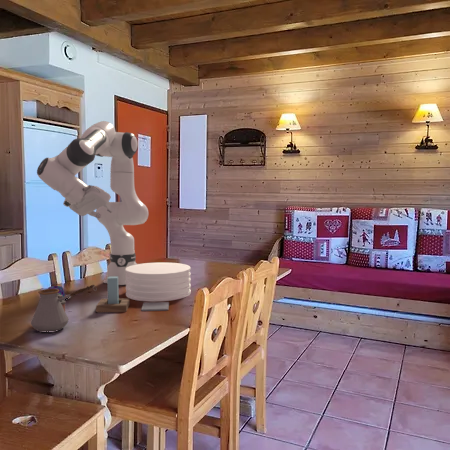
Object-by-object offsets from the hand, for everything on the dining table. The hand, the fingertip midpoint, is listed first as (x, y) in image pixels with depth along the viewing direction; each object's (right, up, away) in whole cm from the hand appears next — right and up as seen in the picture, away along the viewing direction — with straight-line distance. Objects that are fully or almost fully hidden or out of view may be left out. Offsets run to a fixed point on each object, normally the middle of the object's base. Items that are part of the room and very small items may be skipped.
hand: (106, 214), depth 179 cm
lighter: (-12, -38, -20) cm, 45 cm away
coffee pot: (-6, -39, -29) cm, 48 cm away
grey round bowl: (-24, -35, +12) cm, 44 cm away
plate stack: (+17, -34, +22) cm, 44 cm away
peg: (+3, -36, -3) cm, 36 cm away
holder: (+3, -36, -3) cm, 36 cm away
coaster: (+19, -36, -1) cm, 41 cm away
